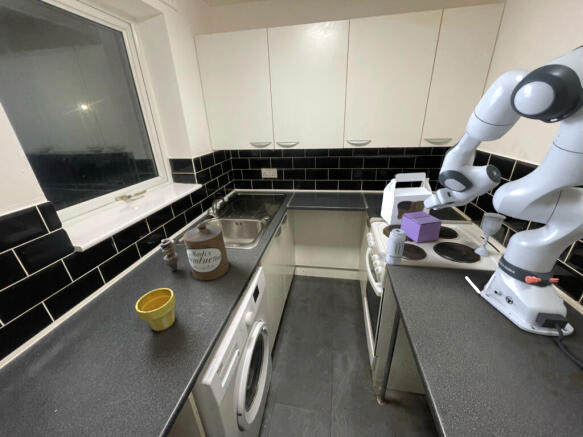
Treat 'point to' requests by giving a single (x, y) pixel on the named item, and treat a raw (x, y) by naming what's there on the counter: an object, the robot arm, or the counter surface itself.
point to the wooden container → (206, 251)
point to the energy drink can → (395, 246)
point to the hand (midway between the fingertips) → (436, 208)
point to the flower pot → (157, 308)
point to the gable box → (405, 197)
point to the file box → (420, 227)
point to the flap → (426, 220)
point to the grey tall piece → (169, 253)
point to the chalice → (489, 229)
